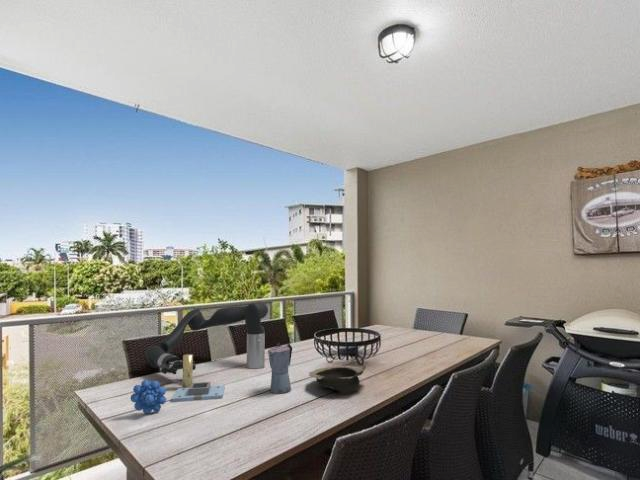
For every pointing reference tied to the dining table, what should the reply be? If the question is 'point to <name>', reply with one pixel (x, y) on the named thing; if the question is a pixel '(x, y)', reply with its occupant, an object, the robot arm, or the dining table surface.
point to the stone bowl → (339, 378)
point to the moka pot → (280, 368)
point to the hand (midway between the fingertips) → (185, 369)
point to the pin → (187, 370)
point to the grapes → (148, 396)
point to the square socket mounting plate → (199, 392)
